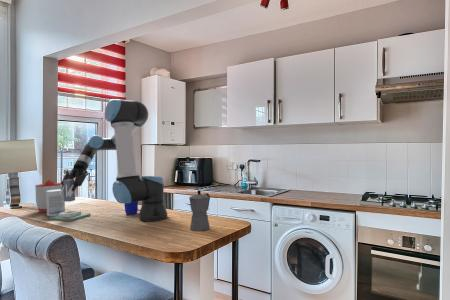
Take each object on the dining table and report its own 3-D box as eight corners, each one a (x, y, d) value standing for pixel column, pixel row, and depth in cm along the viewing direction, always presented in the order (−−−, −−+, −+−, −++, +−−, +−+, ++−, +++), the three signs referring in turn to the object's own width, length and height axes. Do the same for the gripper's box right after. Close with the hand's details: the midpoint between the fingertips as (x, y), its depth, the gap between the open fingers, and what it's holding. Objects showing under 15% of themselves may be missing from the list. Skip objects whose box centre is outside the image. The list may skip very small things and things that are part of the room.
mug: (140, 215, 173) (140, 197, 173) (121, 214, 176) (120, 197, 176) (147, 212, 181) (146, 195, 181) (128, 211, 184) (128, 195, 184)
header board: (90, 215, 175) (90, 210, 175) (71, 221, 162) (71, 215, 162) (69, 214, 180) (69, 209, 180) (48, 219, 167) (48, 214, 167)
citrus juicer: (62, 207, 205) (61, 177, 204) (65, 211, 190) (64, 179, 190) (35, 210, 196) (34, 179, 196) (36, 214, 181) (35, 181, 181)
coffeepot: (200, 233, 133) (199, 192, 133) (183, 231, 137) (182, 191, 137) (218, 225, 146) (217, 188, 146) (201, 223, 151) (200, 187, 151)
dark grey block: (75, 200, 173) (74, 179, 173) (69, 201, 169) (69, 180, 169) (69, 200, 174) (68, 179, 174) (63, 201, 170) (62, 180, 169)
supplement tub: (68, 213, 182) (68, 189, 182) (54, 217, 173) (53, 191, 173) (57, 212, 186) (56, 188, 186) (42, 216, 177) (42, 191, 177)
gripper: (98, 167, 185) (82, 199, 169) (72, 168, 188) (54, 199, 171) (92, 159, 180) (75, 191, 164) (66, 159, 182) (47, 191, 166)
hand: (64, 195), depth 168 cm, fingers closed on dark grey block, 4 cm apart
